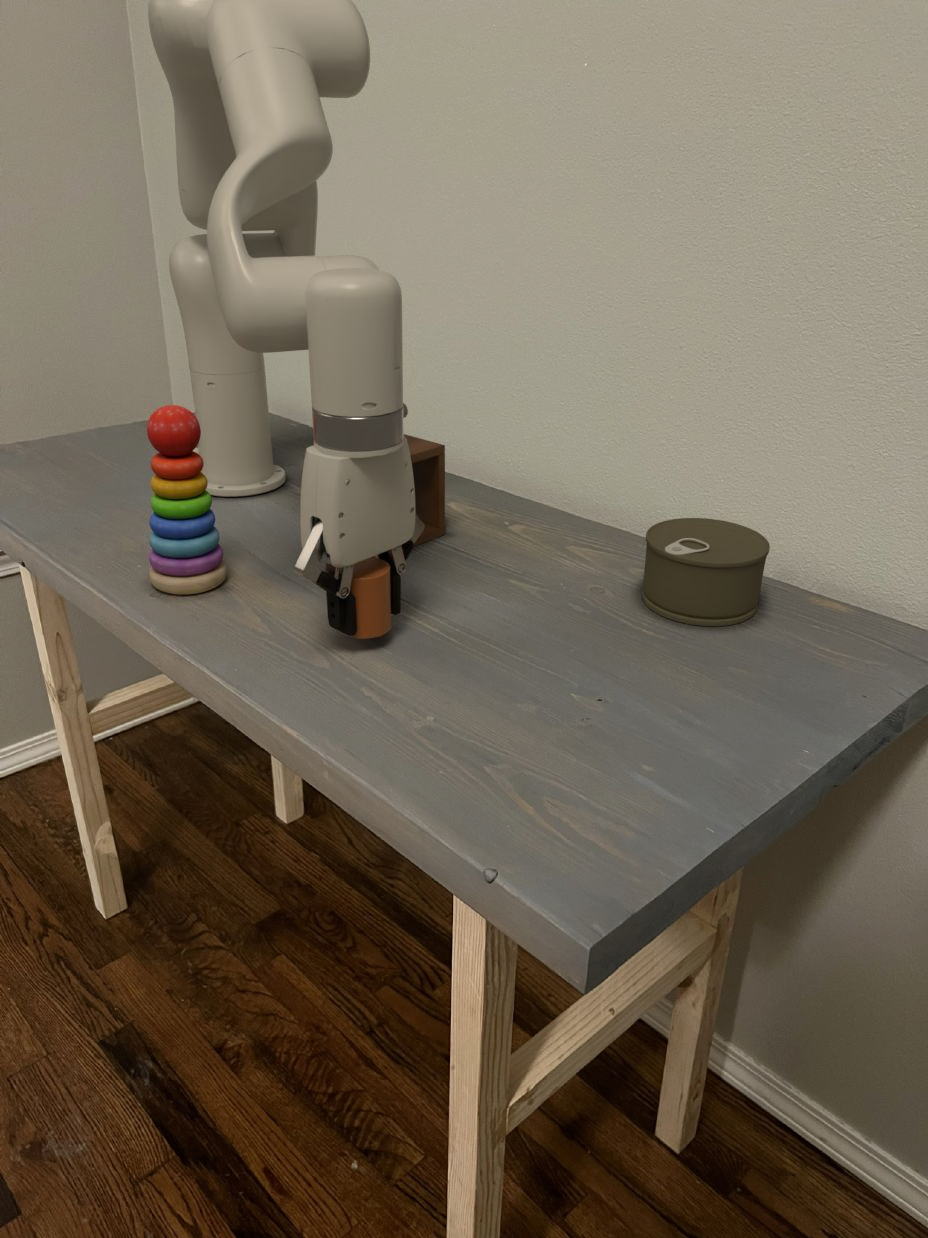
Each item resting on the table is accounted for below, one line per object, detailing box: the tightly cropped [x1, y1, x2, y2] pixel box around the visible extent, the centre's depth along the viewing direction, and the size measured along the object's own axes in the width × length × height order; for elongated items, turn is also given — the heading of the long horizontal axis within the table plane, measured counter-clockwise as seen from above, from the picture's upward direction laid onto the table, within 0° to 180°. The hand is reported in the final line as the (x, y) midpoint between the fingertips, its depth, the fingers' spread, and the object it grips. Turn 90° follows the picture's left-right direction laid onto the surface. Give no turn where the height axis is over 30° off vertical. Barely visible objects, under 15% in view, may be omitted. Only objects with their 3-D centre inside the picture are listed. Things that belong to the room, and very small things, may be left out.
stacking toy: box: [146, 404, 228, 595], centre depth 94 cm, size 8×8×19 cm
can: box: [641, 517, 770, 627], centre depth 94 cm, size 12×12×7 cm
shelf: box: [373, 433, 446, 558], centre depth 108 cm, size 10×11×11 cm
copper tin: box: [336, 557, 392, 640], centre depth 85 cm, size 5×5×6 cm
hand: (365, 618), depth 86 cm, fingers closed on copper tin, 4 cm apart
